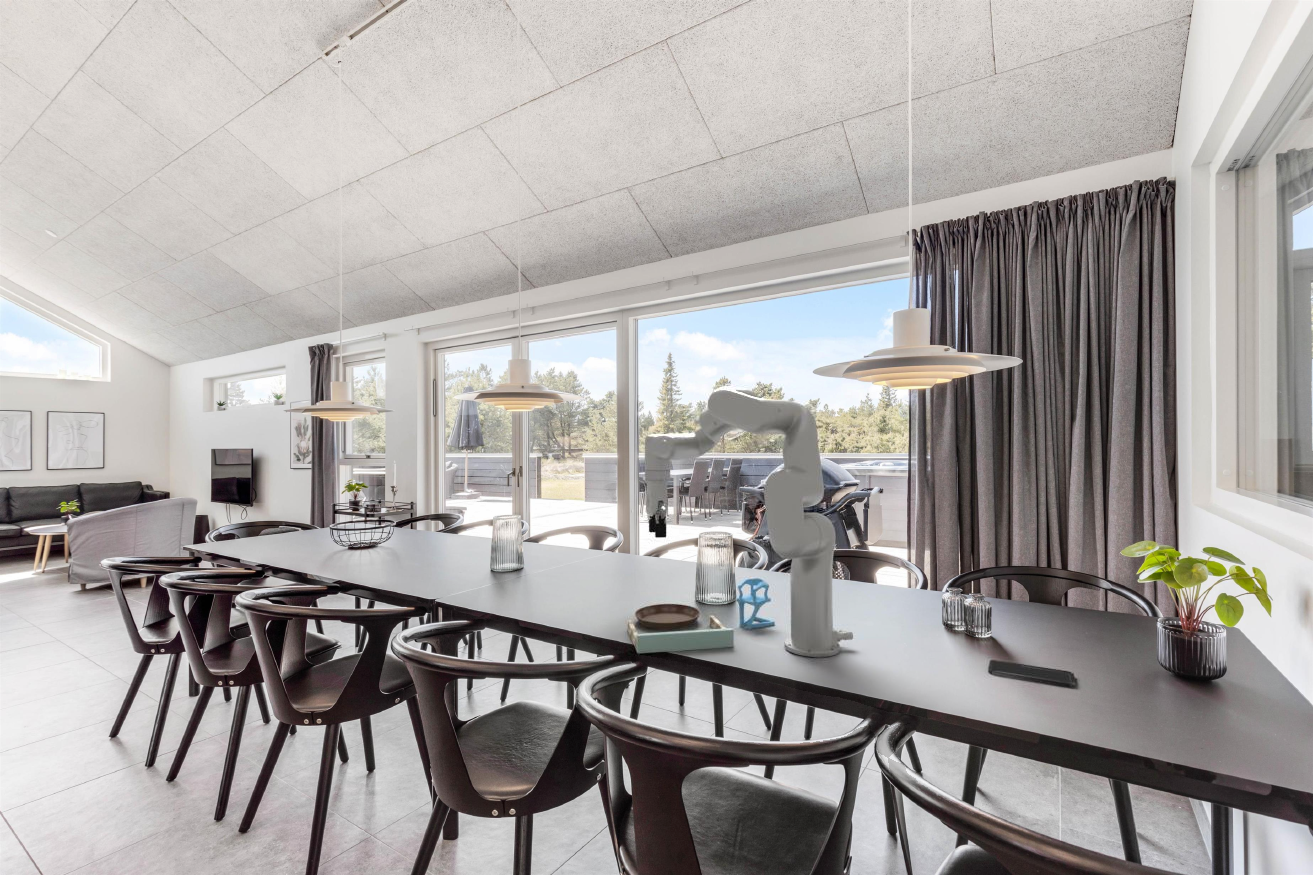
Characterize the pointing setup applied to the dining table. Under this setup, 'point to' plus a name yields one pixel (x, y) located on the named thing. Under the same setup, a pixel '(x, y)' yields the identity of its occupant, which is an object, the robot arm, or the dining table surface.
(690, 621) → the plant saucer
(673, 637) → the saucer dock
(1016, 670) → the phone
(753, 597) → the chair
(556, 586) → the dining table surface
